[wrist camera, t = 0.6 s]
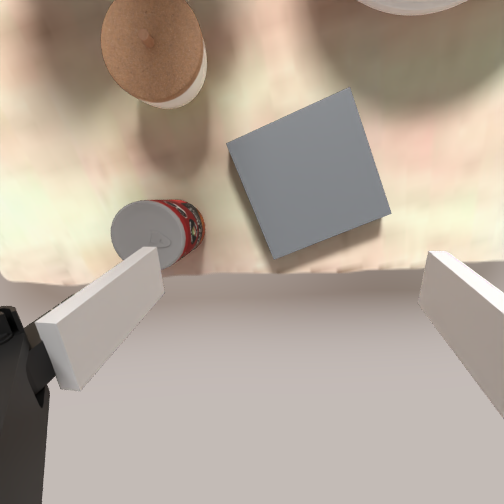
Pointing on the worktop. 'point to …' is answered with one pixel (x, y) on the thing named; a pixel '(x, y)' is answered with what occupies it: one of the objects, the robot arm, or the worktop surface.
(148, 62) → the lidded jar
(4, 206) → the worktop surface
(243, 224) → the worktop surface
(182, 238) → the canned food
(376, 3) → the plate stack
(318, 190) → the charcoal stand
